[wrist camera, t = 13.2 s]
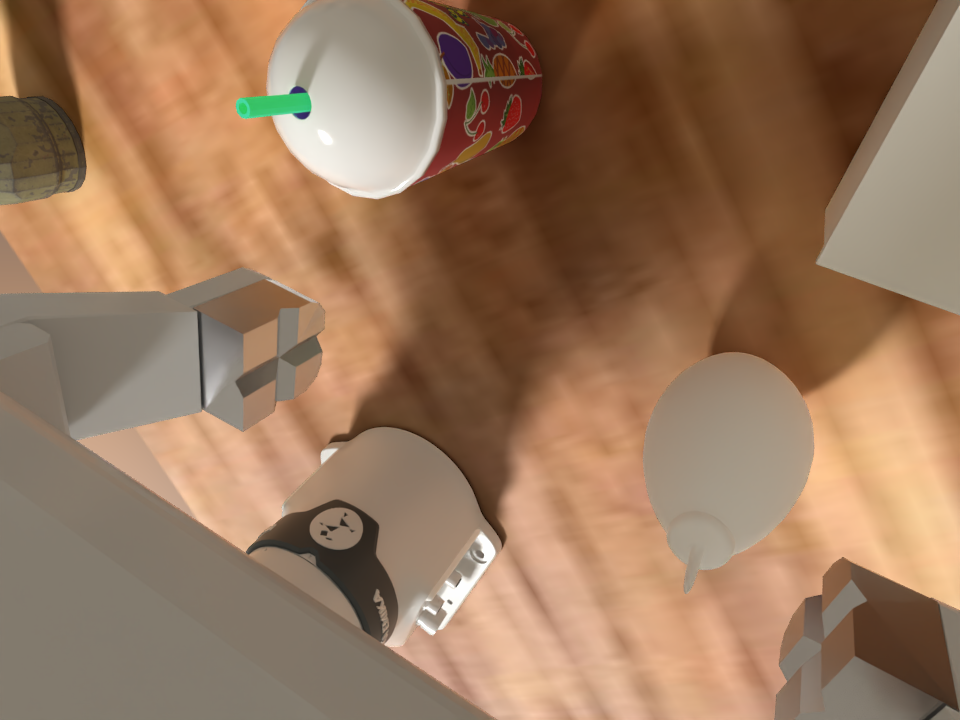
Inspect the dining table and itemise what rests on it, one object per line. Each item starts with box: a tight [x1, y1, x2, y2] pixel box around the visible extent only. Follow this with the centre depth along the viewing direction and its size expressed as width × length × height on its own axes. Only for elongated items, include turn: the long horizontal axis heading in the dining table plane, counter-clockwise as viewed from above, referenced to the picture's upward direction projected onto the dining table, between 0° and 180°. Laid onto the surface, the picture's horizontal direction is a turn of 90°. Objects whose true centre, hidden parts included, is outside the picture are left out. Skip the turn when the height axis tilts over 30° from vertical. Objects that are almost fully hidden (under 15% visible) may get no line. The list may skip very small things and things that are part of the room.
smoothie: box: [236, 0, 542, 199], centre depth 29 cm, size 8×8×20 cm
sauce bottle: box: [643, 352, 814, 594], centre depth 30 cm, size 8×8×18 cm
